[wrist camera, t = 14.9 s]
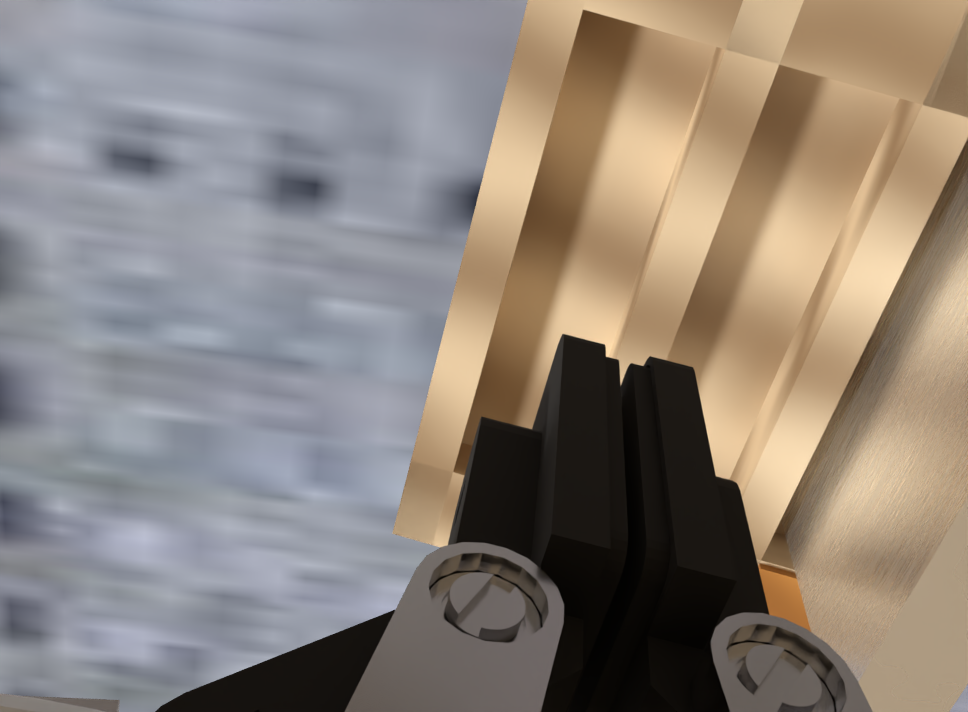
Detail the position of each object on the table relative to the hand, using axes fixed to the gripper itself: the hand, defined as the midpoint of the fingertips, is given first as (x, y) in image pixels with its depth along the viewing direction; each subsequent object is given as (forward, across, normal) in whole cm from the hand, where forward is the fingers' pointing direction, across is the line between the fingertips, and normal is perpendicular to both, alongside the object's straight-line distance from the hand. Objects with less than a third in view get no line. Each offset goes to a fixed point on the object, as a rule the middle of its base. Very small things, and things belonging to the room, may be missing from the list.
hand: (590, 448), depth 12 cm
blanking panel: (+18, -12, +5) cm, 22 cm away
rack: (+19, -6, +5) cm, 21 cm away
